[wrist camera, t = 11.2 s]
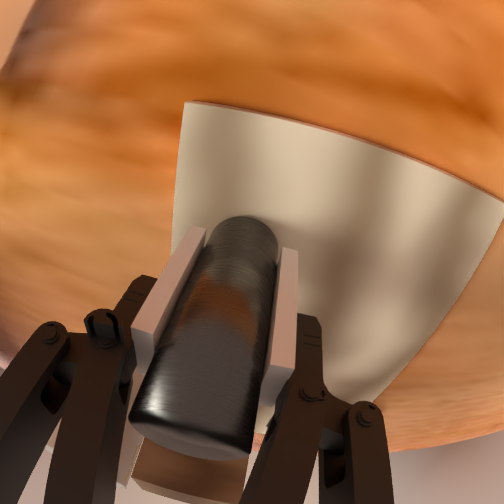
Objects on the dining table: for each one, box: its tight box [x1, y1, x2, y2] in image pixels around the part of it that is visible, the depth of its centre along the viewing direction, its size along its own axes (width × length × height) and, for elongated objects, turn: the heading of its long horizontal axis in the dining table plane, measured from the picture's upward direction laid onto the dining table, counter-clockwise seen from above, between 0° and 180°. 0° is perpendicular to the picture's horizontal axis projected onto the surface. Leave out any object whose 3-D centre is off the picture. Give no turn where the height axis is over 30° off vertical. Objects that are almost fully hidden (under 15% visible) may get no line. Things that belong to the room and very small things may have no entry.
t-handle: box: [128, 216, 279, 461], centre depth 15 cm, size 4×15×10 cm, turn 169°
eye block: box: [131, 100, 504, 504], centre depth 16 cm, size 18×30×12 cm, turn 169°
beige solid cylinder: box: [45, 366, 145, 488], centre depth 21 cm, size 8×8×12 cm
